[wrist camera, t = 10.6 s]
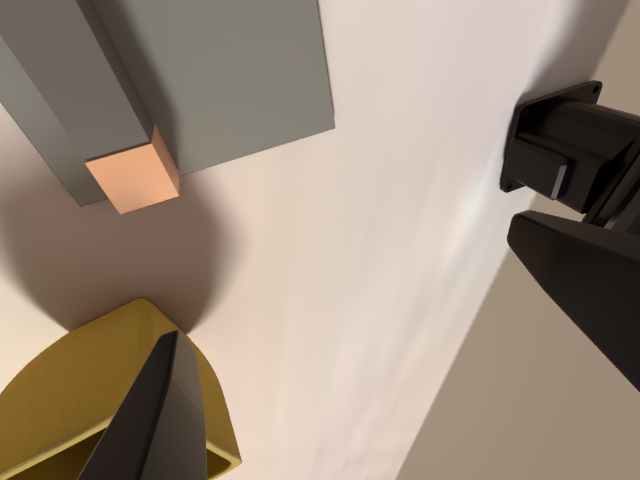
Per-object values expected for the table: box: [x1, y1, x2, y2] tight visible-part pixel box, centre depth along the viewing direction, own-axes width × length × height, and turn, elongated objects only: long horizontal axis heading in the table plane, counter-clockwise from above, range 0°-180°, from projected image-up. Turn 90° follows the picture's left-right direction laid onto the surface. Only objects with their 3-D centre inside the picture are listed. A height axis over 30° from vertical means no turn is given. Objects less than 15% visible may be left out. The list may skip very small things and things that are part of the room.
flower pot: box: [0, 298, 242, 480], centre depth 18 cm, size 9×9×9 cm
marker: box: [0, 0, 179, 215], centre depth 11 cm, size 2×12×2 cm, turn 10°
